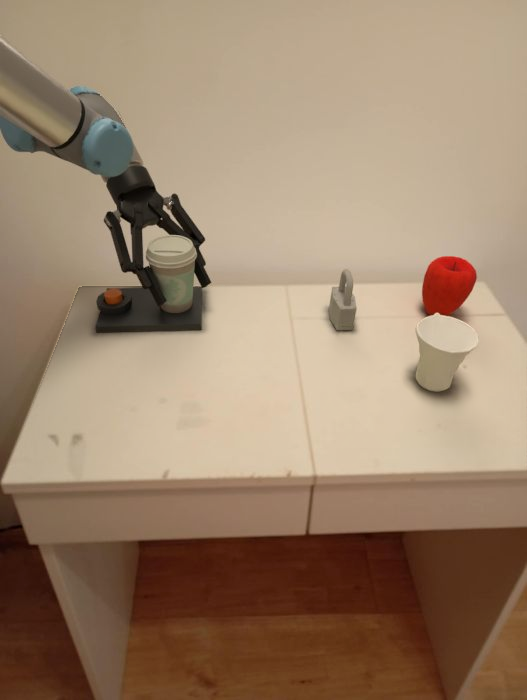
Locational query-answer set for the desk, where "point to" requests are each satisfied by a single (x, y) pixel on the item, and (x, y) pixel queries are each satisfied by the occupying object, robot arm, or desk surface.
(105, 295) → the button
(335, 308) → the padlock
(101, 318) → the scale
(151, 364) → the desk surface
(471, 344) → the cup
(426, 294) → the apple
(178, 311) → the coffee cup
